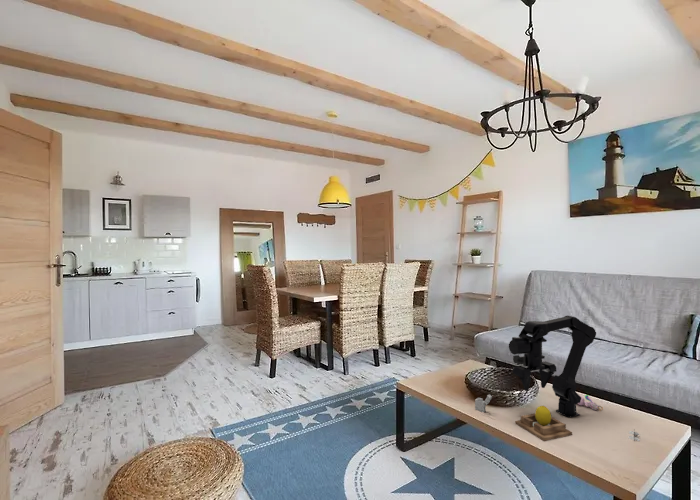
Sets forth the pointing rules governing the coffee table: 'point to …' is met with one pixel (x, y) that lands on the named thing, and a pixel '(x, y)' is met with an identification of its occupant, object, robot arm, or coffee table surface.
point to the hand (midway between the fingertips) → (534, 389)
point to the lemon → (543, 415)
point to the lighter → (482, 403)
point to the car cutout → (632, 436)
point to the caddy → (543, 428)
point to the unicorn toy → (589, 403)
